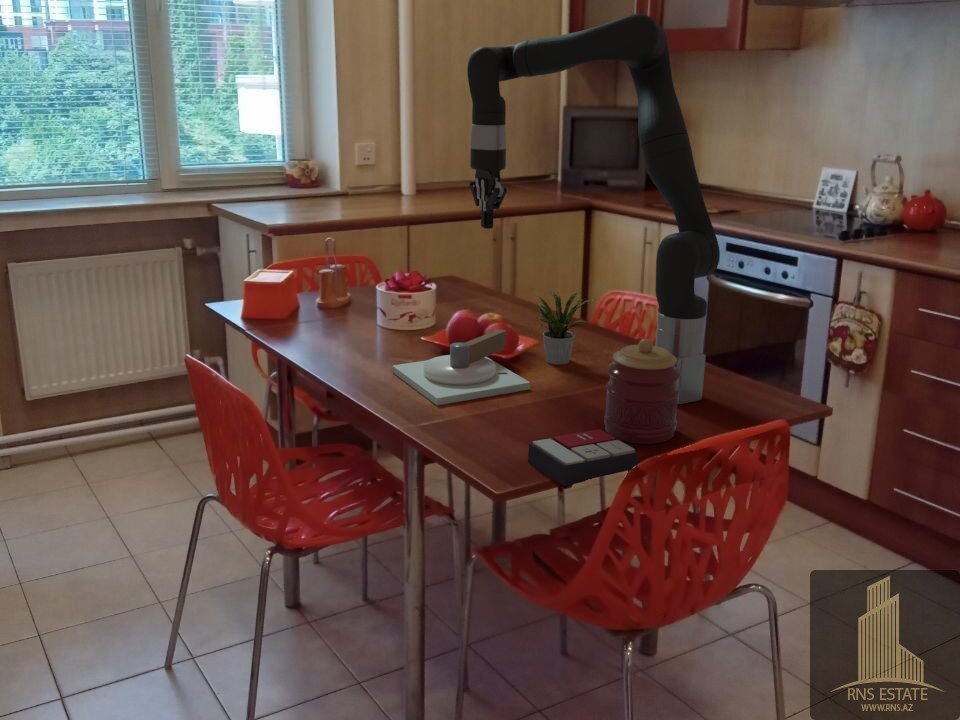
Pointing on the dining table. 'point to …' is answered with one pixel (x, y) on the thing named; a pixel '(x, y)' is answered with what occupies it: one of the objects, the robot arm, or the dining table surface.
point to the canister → (642, 394)
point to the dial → (467, 361)
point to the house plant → (559, 330)
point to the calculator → (581, 456)
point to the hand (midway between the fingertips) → (486, 227)
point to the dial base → (456, 393)
